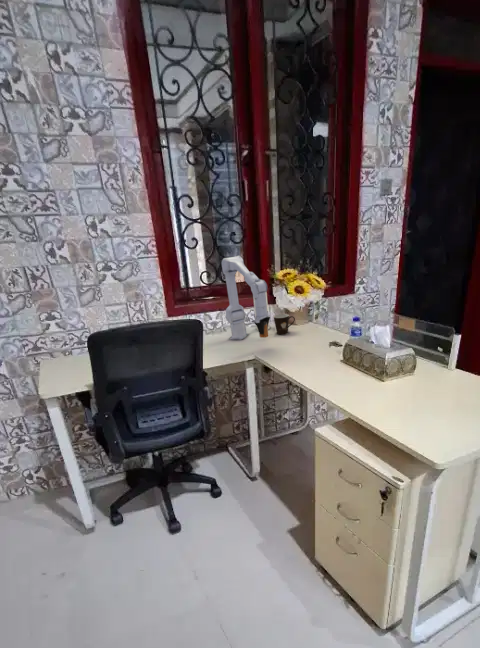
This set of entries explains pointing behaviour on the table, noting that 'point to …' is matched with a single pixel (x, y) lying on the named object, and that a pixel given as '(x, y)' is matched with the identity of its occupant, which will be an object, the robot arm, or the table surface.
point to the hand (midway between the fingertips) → (263, 332)
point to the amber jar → (264, 331)
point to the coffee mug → (282, 323)
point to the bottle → (267, 309)
